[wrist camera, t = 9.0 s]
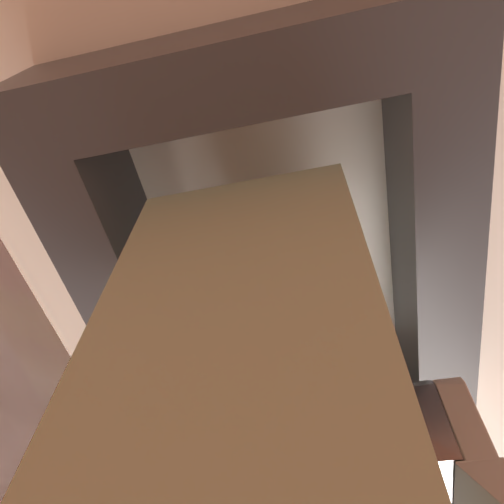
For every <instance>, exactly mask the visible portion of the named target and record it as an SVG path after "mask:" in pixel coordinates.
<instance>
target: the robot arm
mask: <svg viewBox="0 0 504 504" xmlns="http://www.w3.org/2000/svg"><path fill="white" fill-rule="evenodd" d="M412 384H413V387H414V390H415V393H416V396H417V399H418V402H419V405H420V408H421V411H422V414H423V417H424V420H425V423H426V426H427V430H428V433H429V436H430V439H431V442H432V445H433V448H434V451H435V454H436V457H437V460H438V463H439V466H440V469H441V472H442V475H443V479H444V482H445V485H446V488H447V491H448V494H449V497H450V500H451V503H452V504H504V457H499V456H498V453H497V451H496V449H495V447H494V445H493V442H492V440H491V438H490V436H489V434H488V431H487V429H486V427H485V425H484V423H483V420H482V418H481V416H480V414H479V411H478V409H477V407H476V405H475V403H474V400H473V398H472V396H471V394H470V392H469V389H468V387H467V385H466V383H465V381H464V380H463V379H462V378H461V377H454V378H445V379H437V380H432V381H431V380H424V381H416V382H412Z"/></svg>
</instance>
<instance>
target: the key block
mask: <svg viewBox="0 0 504 504" xmlns="http://www.w3.org/2000/svg"><path fill="white" fill-rule="evenodd" d="M1 504H452V503H451V500H450V497H449V494H448V491H447V488H446V485H445V482H444V479H443V475H442V472H441V469H440V466H439V463H438V460H437V457H436V454H435V451H434V448H433V445H432V442H431V439H430V436H429V433H428V430H427V426H426V423H425V420H424V417H423V414H422V411H421V408H420V405H419V402H418V399H417V396H416V393H415V390H414V387H413V384H412V381H411V377H410V374H409V371H408V368H407V365H406V362H405V359H404V356H403V353H402V350H401V347H400V344H399V341H398V338H397V335H396V332H395V328H394V325H393V322H392V319H391V316H390V313H389V310H388V307H387V304H386V301H385V298H384V295H383V292H382V289H381V286H380V282H379V279H378V276H377V273H376V270H375V267H374V264H373V261H372V258H371V255H370V252H369V249H368V246H367V243H366V240H365V237H364V233H363V230H362V227H361V224H360V221H359V218H358V215H357V212H356V209H355V206H354V203H353V200H352V197H351V194H350V191H349V188H348V184H347V181H346V178H345V175H344V172H343V169H342V166H341V163H339V164H334V165H329V166H323V167H318V168H312V169H307V170H301V171H296V172H291V173H285V174H280V175H274V176H269V177H264V178H258V179H253V180H247V181H242V182H237V183H231V184H226V185H220V186H215V187H209V188H204V189H199V190H193V191H188V192H182V193H177V194H172V195H166V196H161V197H155V198H150V199H147V200H146V203H145V205H144V207H143V209H142V211H141V213H140V215H139V217H138V219H137V221H136V223H135V225H134V227H133V230H132V232H131V234H130V236H129V238H128V240H127V242H126V244H125V246H124V248H123V250H122V252H121V254H120V257H119V259H118V261H117V263H116V265H115V267H114V269H113V271H112V273H111V275H110V277H109V279H108V281H107V284H106V286H105V288H104V290H103V292H102V294H101V296H100V298H99V300H98V302H97V304H96V306H95V308H94V311H93V313H92V315H91V317H90V319H89V321H88V323H87V325H86V327H85V329H84V331H83V333H82V335H81V338H80V340H79V342H78V344H77V346H76V348H75V350H74V352H73V354H72V356H71V358H70V360H69V362H68V365H67V367H66V369H65V371H64V373H63V375H62V377H61V379H60V381H59V383H58V385H57V387H56V389H55V392H54V394H53V396H52V398H51V400H50V402H49V404H48V406H47V408H46V410H45V412H44V414H43V416H42V419H41V421H40V423H39V425H38V427H37V429H36V431H35V433H34V435H33V437H32V439H31V441H30V443H29V446H28V448H27V450H26V452H25V454H24V456H23V458H22V460H21V462H20V464H19V466H18V468H17V470H16V473H15V475H14V477H13V479H12V481H11V483H10V485H9V487H8V489H7V491H6V493H5V495H4V497H3V500H2V502H1Z"/></svg>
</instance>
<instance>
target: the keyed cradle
mask: <svg viewBox="0 0 504 504" xmlns="http://www.w3.org/2000/svg"><path fill="white" fill-rule="evenodd" d="M339 163H341V166H342V169H343V172H344V175H345V178H346V181H347V184H348V188H349V191H350V194H351V197H352V200H353V203H354V206H355V209H356V212H357V215H358V218H359V221H360V224H361V227H362V230H363V233H364V237H365V240H366V243H367V246H368V249H369V252H370V255H371V258H372V261H373V264H374V267H375V270H376V273H377V276H378V279H379V282H380V286H381V289H382V292H383V295H384V298H385V301H386V304H387V307H388V310H389V313H390V316H391V319H392V322H393V325H394V328H395V332H396V335H397V338H398V341H399V344H400V347H401V350H402V353H403V356H404V359H405V362H406V365H407V368H408V371H409V374H410V377H411V381H412V382H416V381H424V380H431V381H432V380H437V379H445V378H454V377H461V378H462V379H463V380H464V381H465V383H466V385H467V387H468V389H469V392H470V394H471V396H472V398H473V400H474V403H475V405H476V407H477V409H478V411H479V414H480V416H481V418H482V420H483V423H484V425H485V427H486V429H487V431H488V434H489V436H490V438H491V440H492V442H493V445H494V447H495V449H496V451H497V453H498V456H499V457H504V0H0V239H1V240H2V242H3V244H4V245H5V247H6V249H7V250H8V252H9V254H10V255H11V257H12V259H13V260H14V262H15V264H16V266H17V267H18V269H19V271H20V272H21V274H22V276H23V277H24V279H25V281H26V282H27V284H28V286H29V288H30V289H31V291H32V293H33V294H34V296H35V298H36V299H37V301H38V303H39V304H40V306H41V308H42V309H43V311H44V313H45V315H46V316H47V318H48V320H49V321H50V323H51V325H52V326H53V328H54V330H55V331H56V333H57V335H58V337H59V338H60V340H61V342H62V343H63V345H64V347H65V348H66V350H67V352H68V353H69V355H70V357H71V356H72V354H73V352H74V350H75V348H76V346H77V344H78V342H79V340H80V338H81V335H82V333H83V331H84V329H85V327H86V325H87V323H88V321H89V319H90V317H91V315H92V313H93V311H94V308H95V306H96V304H97V302H98V300H99V298H100V296H101V294H102V292H103V290H104V288H105V286H106V284H107V281H108V279H109V277H110V275H111V273H112V271H113V269H114V267H115V265H116V263H117V261H118V259H119V257H120V254H121V252H122V250H123V248H124V246H125V244H126V242H127V240H128V238H129V236H130V234H131V232H132V230H133V227H134V225H135V223H136V221H137V219H138V217H139V215H140V213H141V211H142V209H143V207H144V205H145V203H146V200H147V199H150V198H155V197H161V196H166V195H172V194H177V193H182V192H188V191H193V190H199V189H204V188H209V187H215V186H220V185H226V184H231V183H237V182H242V181H247V180H253V179H258V178H264V177H269V176H274V175H280V174H285V173H291V172H296V171H301V170H307V169H312V168H318V167H323V166H329V165H334V164H339Z"/></svg>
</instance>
